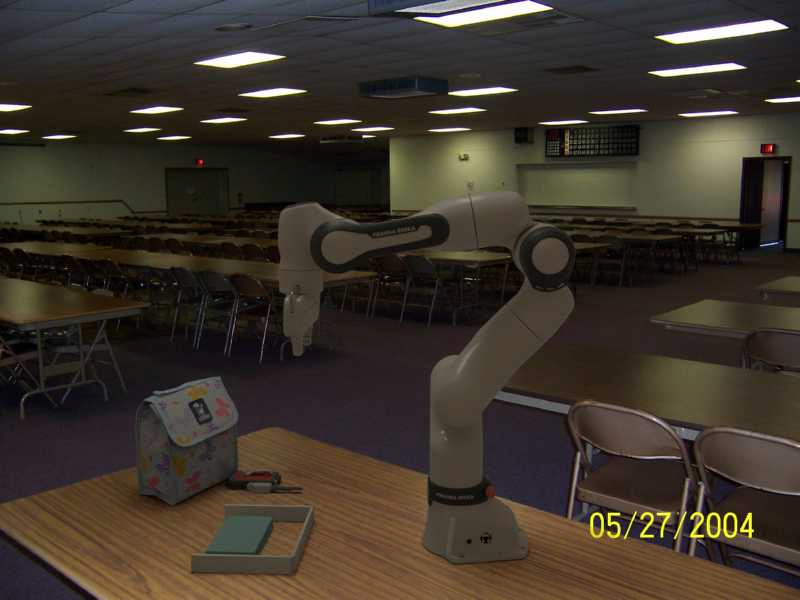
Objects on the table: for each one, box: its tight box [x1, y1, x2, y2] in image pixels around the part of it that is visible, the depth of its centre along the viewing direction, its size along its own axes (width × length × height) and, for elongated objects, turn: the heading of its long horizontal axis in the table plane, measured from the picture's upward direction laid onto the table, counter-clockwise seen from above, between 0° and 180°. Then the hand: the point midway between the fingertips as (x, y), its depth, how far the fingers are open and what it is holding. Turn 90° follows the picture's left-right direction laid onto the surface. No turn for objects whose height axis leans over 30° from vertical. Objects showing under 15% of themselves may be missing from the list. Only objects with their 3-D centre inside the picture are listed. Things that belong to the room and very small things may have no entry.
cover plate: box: [204, 515, 274, 555], centre depth 151 cm, size 10×16×3 cm, turn 177°
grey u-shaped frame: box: [190, 503, 315, 575], centre depth 151 cm, size 20×23×4 cm
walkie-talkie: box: [224, 467, 303, 495], centre depth 181 cm, size 9×4×20 cm
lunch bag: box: [134, 376, 239, 506], centre depth 179 cm, size 22×17×26 cm
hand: (302, 349), depth 147 cm, fingers open, 8 cm apart
